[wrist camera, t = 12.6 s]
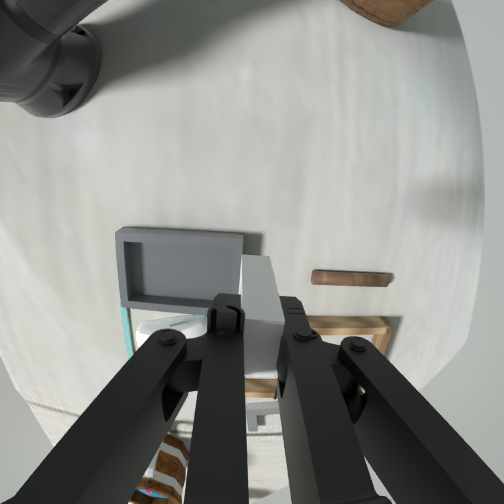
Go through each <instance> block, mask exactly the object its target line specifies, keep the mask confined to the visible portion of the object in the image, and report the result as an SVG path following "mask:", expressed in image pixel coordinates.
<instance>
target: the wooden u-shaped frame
mask: <svg viewBox="0 0 504 504" xmlns="http://www.w3.org/2000/svg"><path fill="white" fill-rule="evenodd" d="M307 319H308V322H309V325H310V327H311V328H312V329H314V330H315V331H317V332H318V333H319V335H370V334H374V336H373V340H372V344H373V345H374V346H375V347H376V348H377V349H378V350H379V351H380V352H381V353H382V354H383V355H384V354H385V352H386V349H387V346H388V343H389V340H390V337H391V333H392V330H393V326H392V325H391V324H390V322H389V321H388V320H387V318H386V317H315V316H307ZM276 384H277V379H245V397H260V398H274V394H275V389H276ZM360 389H361V390H362V392H363V393H365V391H364V389H363V388H362V387H361V388H360ZM277 398H278V396H277Z"/></svg>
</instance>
